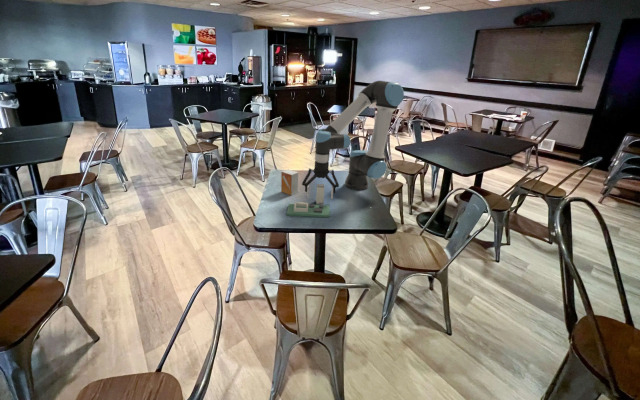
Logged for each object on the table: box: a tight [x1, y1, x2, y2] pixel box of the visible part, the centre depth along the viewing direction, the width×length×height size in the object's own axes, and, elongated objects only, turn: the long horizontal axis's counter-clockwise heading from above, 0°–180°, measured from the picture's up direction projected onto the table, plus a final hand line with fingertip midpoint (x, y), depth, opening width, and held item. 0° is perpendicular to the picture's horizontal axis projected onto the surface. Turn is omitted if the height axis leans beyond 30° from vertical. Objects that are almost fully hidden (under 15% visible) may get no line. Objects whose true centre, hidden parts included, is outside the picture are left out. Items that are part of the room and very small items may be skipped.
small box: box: [280, 168, 299, 196], centre depth 189 cm, size 8×6×13 cm
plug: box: [315, 183, 325, 205], centre depth 178 cm, size 4×4×10 cm
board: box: [286, 201, 331, 218], centre depth 168 cm, size 22×12×4 cm, turn 91°
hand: (319, 197), depth 179 cm, fingers open, 13 cm apart
